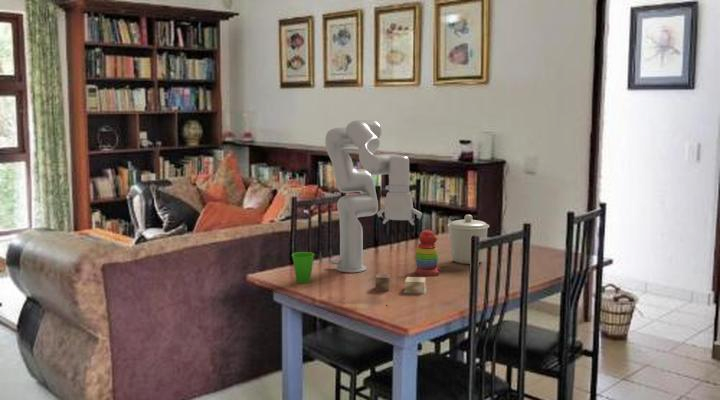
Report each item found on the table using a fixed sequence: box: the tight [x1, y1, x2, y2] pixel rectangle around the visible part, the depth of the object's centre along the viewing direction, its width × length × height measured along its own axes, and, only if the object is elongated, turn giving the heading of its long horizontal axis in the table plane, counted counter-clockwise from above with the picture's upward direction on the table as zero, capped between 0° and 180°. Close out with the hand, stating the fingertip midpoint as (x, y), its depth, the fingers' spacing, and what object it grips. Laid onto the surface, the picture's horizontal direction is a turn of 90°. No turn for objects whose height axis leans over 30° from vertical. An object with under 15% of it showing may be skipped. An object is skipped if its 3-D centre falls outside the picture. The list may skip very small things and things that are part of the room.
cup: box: [291, 251, 316, 284], centre depth 277 cm, size 9×9×11 cm
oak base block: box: [404, 276, 427, 294], centre depth 260 cm, size 7×7×4 cm
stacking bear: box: [414, 228, 441, 277], centre depth 291 cm, size 11×10×18 cm
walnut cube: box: [374, 273, 392, 292], centre depth 262 cm, size 5×5×5 cm
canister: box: [447, 214, 490, 265], centre depth 309 cm, size 18×18×21 cm
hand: (399, 234), depth 264 cm, fingers open, 9 cm apart
